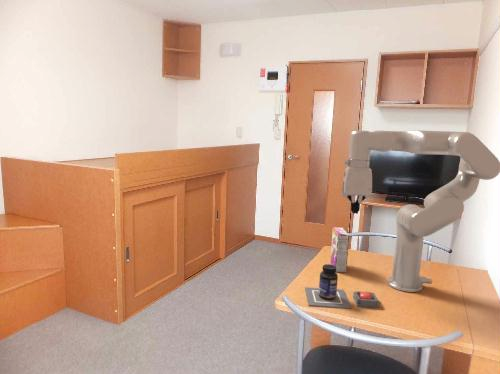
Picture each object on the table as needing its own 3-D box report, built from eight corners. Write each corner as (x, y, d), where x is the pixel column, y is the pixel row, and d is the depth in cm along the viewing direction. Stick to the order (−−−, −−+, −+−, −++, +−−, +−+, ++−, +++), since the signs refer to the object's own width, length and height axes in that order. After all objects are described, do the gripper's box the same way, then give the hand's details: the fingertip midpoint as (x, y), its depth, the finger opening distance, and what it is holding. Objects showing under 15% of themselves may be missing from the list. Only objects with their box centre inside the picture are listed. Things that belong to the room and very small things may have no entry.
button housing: (372, 298, 134) (373, 292, 134) (378, 307, 127) (379, 301, 127) (352, 297, 135) (353, 291, 134) (357, 306, 128) (357, 299, 127)
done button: (369, 297, 133) (370, 292, 132) (372, 302, 129) (373, 297, 128) (358, 296, 133) (358, 291, 133) (360, 302, 129) (361, 296, 129)
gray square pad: (343, 290, 140) (343, 289, 140) (350, 308, 126) (351, 307, 126) (304, 288, 140) (305, 287, 140) (308, 305, 127) (308, 304, 126)
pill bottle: (331, 302, 129) (333, 271, 127) (315, 296, 133) (317, 266, 131) (338, 296, 134) (341, 266, 132) (323, 291, 137) (325, 262, 136)
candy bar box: (329, 262, 168) (332, 226, 166) (340, 263, 168) (343, 227, 166) (334, 272, 157) (337, 234, 155) (346, 273, 157) (350, 234, 155)
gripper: (340, 164, 136) (336, 214, 139) (382, 166, 136) (377, 215, 139) (336, 162, 144) (332, 209, 147) (375, 164, 144) (371, 211, 147)
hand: (354, 212), depth 143 cm, fingers closed
